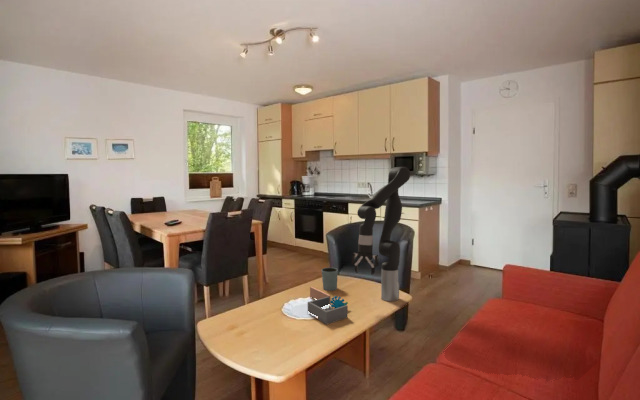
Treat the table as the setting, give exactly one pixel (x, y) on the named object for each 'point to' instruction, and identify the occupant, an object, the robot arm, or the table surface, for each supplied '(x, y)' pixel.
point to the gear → (337, 302)
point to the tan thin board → (318, 294)
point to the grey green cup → (329, 278)
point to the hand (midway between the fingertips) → (364, 273)
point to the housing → (325, 315)
